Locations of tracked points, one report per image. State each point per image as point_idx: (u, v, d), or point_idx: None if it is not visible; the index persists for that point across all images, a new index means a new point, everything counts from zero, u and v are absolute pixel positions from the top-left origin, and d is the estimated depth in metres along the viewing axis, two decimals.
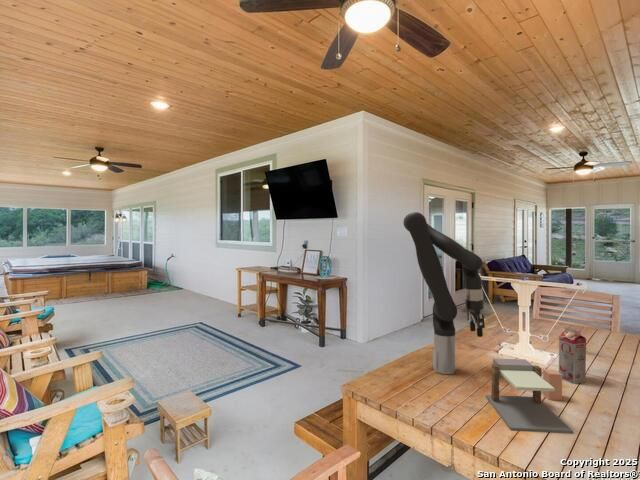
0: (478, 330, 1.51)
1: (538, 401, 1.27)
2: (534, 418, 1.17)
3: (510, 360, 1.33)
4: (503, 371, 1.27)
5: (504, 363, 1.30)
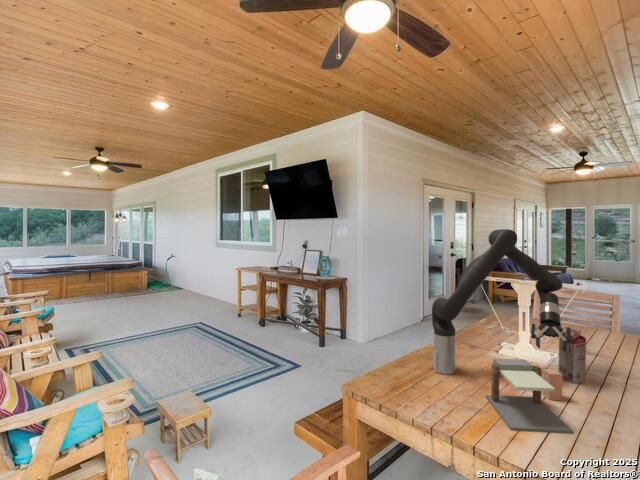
0: (565, 343, 1.41)
1: (538, 401, 1.27)
2: (534, 418, 1.17)
3: (510, 360, 1.33)
4: (503, 371, 1.27)
5: (504, 363, 1.30)
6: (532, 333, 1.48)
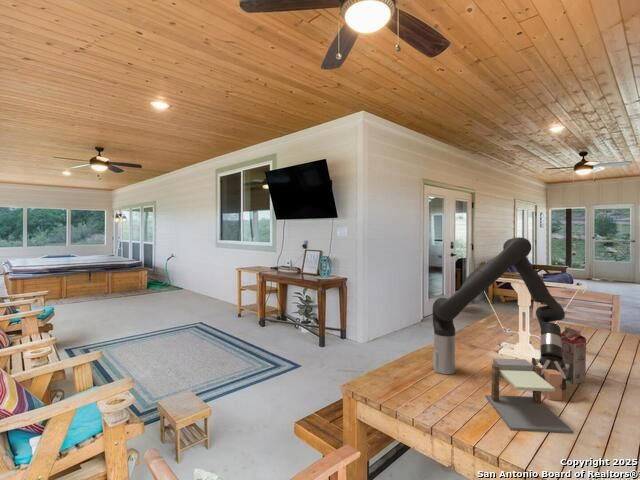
0: (565, 381, 1.31)
1: (538, 401, 1.27)
2: (534, 418, 1.17)
3: (510, 360, 1.33)
4: (503, 371, 1.27)
5: (504, 363, 1.30)
6: None
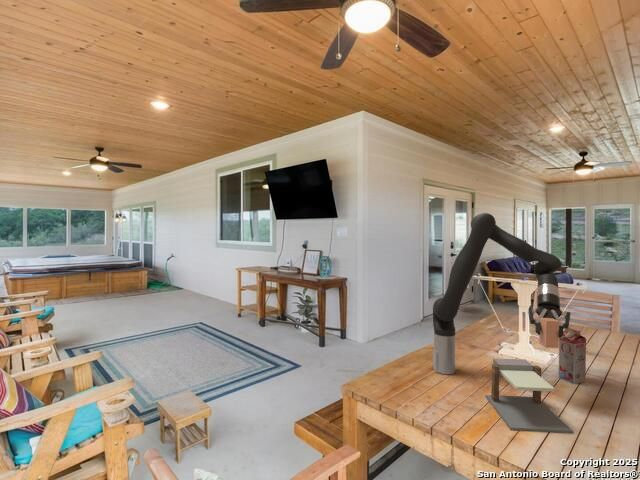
0: (561, 328, 1.28)
1: (538, 401, 1.27)
2: (534, 418, 1.17)
3: (510, 360, 1.33)
4: (503, 371, 1.27)
5: (504, 363, 1.30)
6: (531, 318, 1.34)
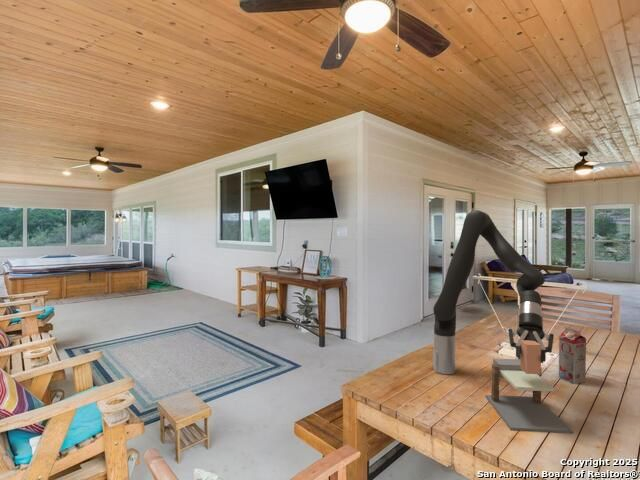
0: (544, 353, 1.16)
1: (538, 401, 1.27)
2: (534, 418, 1.17)
3: (510, 360, 1.33)
4: (503, 371, 1.27)
5: (504, 363, 1.30)
6: (511, 341, 1.22)
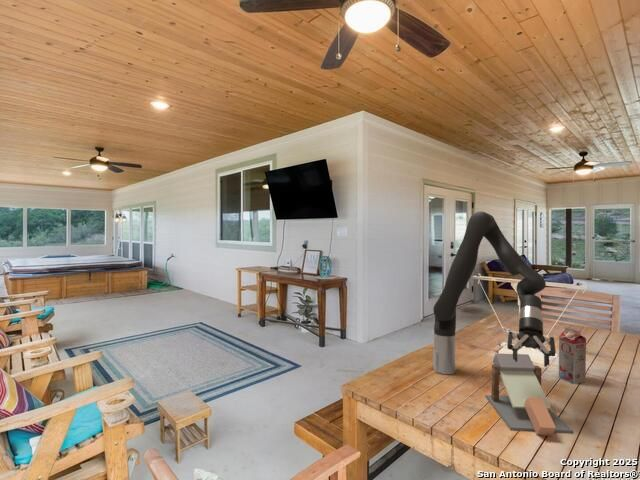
0: (547, 356, 1.15)
1: None
2: None
3: (512, 357, 1.31)
4: (503, 373, 1.27)
5: (506, 364, 1.28)
6: (509, 343, 1.22)
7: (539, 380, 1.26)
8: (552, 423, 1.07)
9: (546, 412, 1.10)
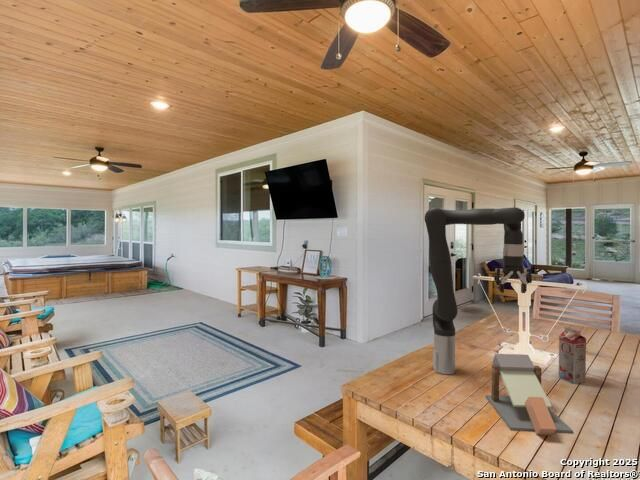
0: (525, 286, 1.45)
1: None
2: None
3: (512, 357, 1.31)
4: (503, 373, 1.27)
5: (506, 364, 1.28)
6: (497, 280, 1.46)
7: (539, 380, 1.26)
8: (553, 424, 1.07)
9: (547, 412, 1.10)
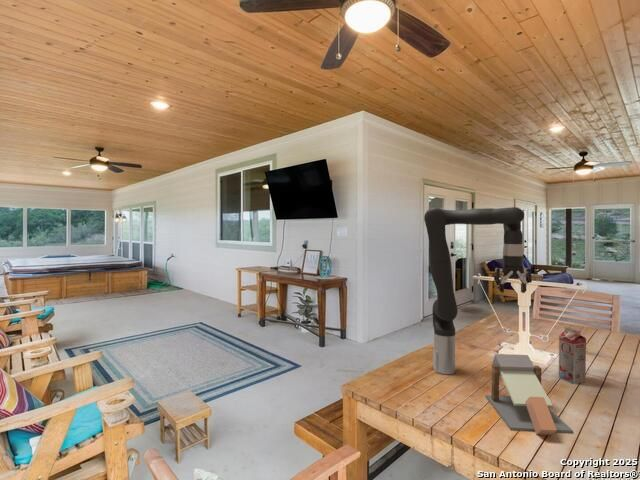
0: (525, 286, 1.45)
1: None
2: None
3: (512, 357, 1.31)
4: (503, 373, 1.27)
5: (505, 364, 1.29)
6: (497, 280, 1.46)
7: (539, 380, 1.26)
8: (553, 425, 1.07)
9: (548, 413, 1.09)
